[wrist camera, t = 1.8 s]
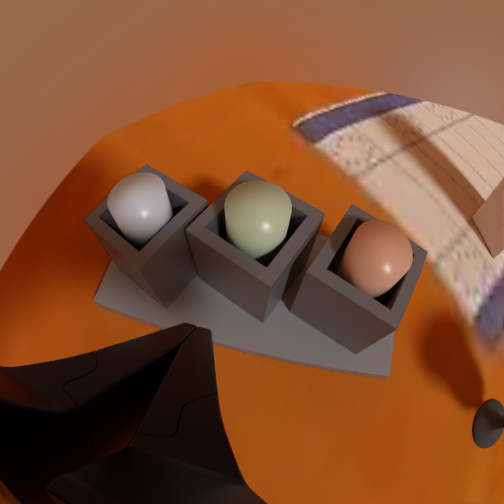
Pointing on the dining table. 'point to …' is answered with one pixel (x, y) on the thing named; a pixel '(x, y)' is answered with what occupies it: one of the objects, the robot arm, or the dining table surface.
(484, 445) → the sundae
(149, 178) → the white rounded dome
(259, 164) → the dining table surface
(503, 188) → the milk
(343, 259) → the salmon orange ball
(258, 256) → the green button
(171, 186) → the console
